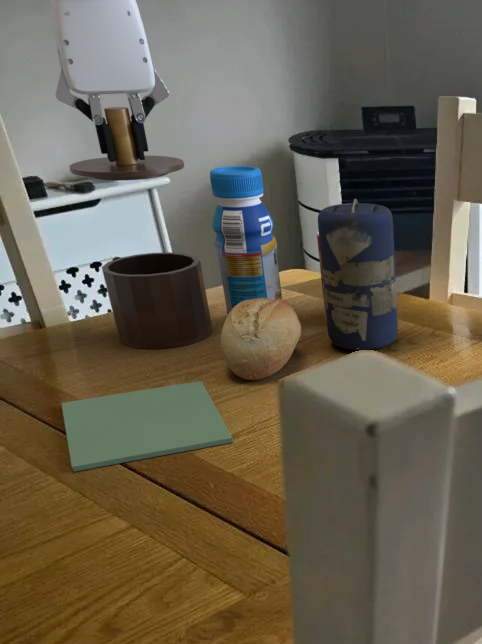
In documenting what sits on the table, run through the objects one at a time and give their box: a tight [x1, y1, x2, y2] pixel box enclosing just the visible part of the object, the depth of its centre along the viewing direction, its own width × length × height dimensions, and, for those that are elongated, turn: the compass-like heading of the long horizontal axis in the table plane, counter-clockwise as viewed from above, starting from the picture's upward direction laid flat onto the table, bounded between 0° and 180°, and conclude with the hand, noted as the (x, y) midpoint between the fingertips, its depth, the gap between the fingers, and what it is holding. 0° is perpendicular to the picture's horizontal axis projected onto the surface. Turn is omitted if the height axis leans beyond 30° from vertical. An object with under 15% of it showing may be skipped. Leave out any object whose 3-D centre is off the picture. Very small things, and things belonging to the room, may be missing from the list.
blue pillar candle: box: [317, 198, 399, 351], centre depth 107 cm, size 10×10×18 cm
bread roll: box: [220, 297, 302, 381], centre depth 104 cm, size 10×15×8 cm, turn 0°
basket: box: [101, 251, 213, 350], centre depth 114 cm, size 13×13×10 cm
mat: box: [60, 380, 234, 473], centre depth 91 cm, size 16×18×1 cm
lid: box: [69, 106, 185, 182], centre depth 102 cm, size 14×14×7 cm
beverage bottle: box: [209, 165, 283, 317], centre depth 115 cm, size 8×8×20 cm
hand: (126, 157), depth 103 cm, fingers closed on lid, 2 cm apart
